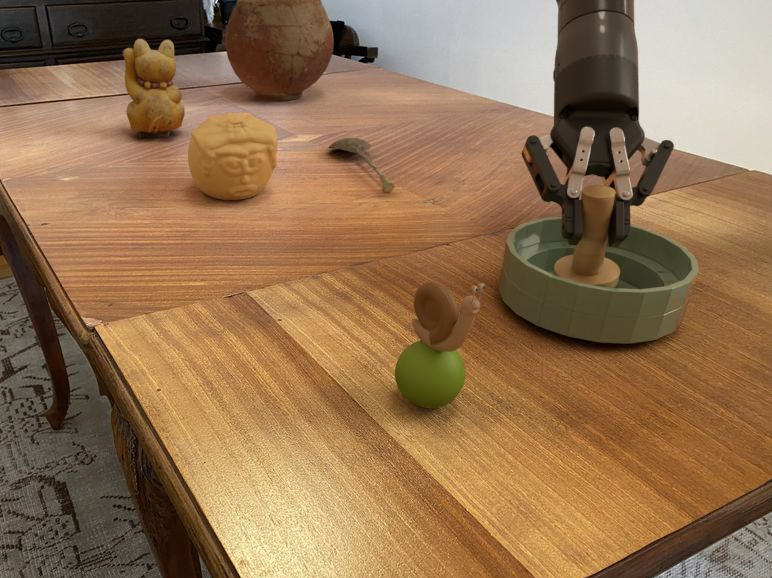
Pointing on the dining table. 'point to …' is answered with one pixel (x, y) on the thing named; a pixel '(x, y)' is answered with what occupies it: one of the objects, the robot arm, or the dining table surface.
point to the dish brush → (592, 242)
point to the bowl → (595, 303)
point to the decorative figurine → (152, 90)
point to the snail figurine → (436, 346)
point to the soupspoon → (358, 148)
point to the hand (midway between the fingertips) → (595, 242)
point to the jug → (279, 45)
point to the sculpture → (232, 155)
